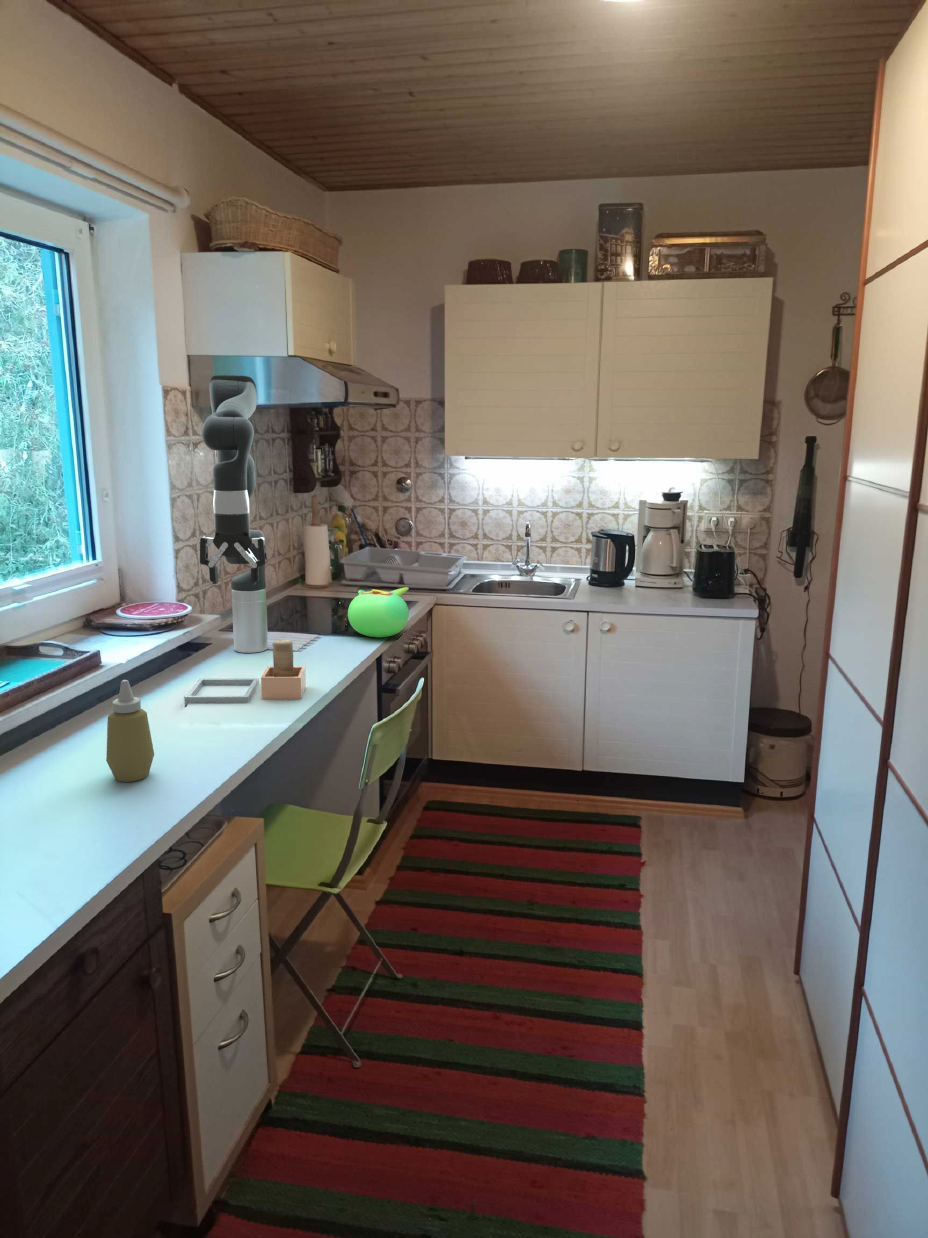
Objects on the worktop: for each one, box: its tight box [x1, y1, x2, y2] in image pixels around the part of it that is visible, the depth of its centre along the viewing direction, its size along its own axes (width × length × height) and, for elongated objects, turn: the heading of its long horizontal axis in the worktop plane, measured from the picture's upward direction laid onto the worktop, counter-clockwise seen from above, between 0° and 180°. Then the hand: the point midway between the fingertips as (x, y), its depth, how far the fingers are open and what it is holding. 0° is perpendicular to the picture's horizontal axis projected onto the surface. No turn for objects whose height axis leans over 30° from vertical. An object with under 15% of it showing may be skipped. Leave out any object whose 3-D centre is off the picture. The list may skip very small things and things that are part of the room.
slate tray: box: [184, 677, 260, 708], centre depth 200 cm, size 14×14×2 cm
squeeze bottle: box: [105, 679, 155, 783], centre depth 154 cm, size 8×8×18 cm
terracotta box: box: [260, 666, 307, 700], centre depth 200 cm, size 9×9×6 cm
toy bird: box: [347, 587, 410, 638], centre depth 256 cm, size 18×17×15 cm
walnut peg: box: [272, 639, 294, 677], centre depth 199 cm, size 4×4×12 cm
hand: (234, 583), depth 192 cm, fingers open, 8 cm apart
